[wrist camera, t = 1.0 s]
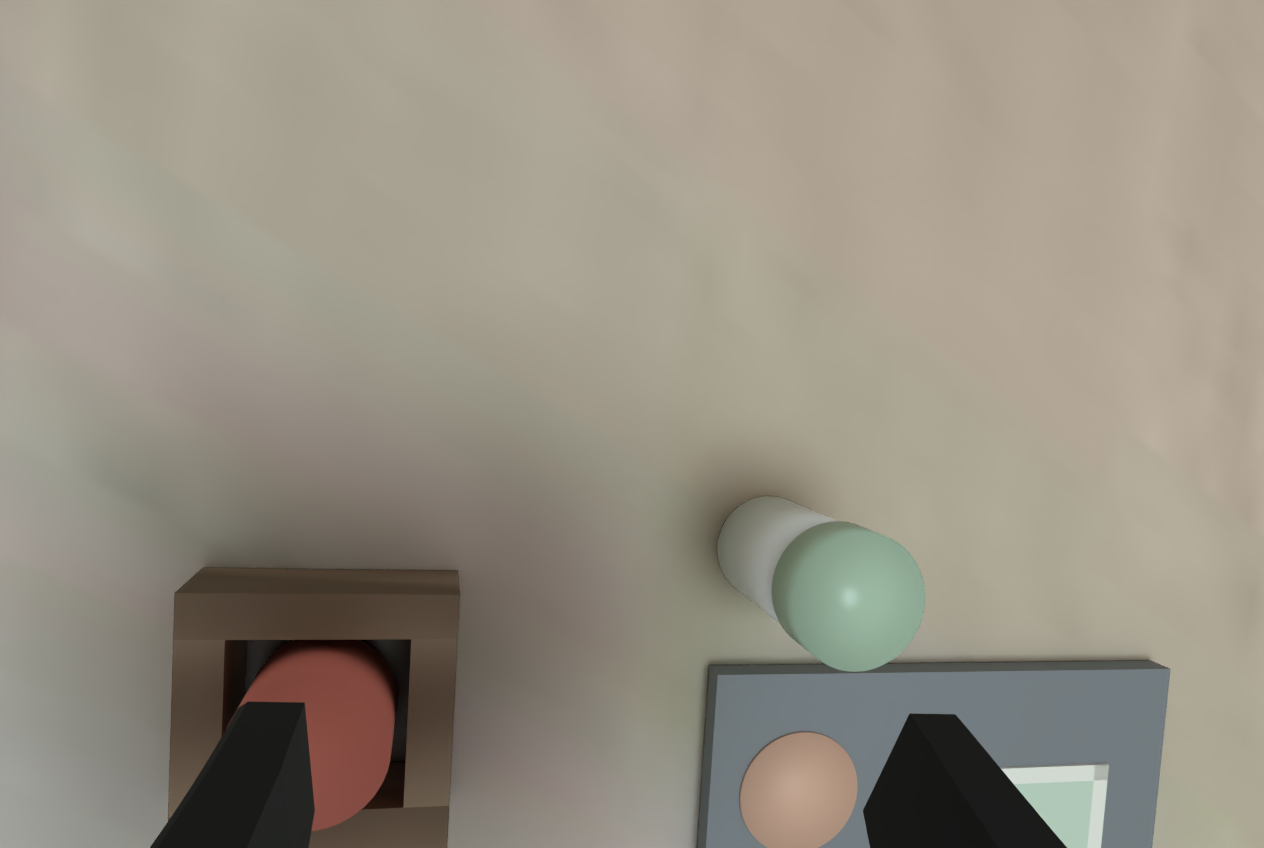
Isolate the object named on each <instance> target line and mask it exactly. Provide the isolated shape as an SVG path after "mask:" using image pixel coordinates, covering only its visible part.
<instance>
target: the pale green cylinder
mask: <svg viewBox="0 0 1264 848" xmlns="http://www.w3.org/2000/svg"><path fill="white" fill-rule="evenodd" d="M717 554H718V561H719V565H720V568H721V570H722V572H723V574H724V576H725V577H726V579H727V580H728V581H729V583H730V584H731V585H732V586H733V587H735V588H736V589H737V590H738V591H740V592H741V593H742V594H743V595H745V596H746V597H747V598H749V599H750V600H751V601H752V602H754V603H755V604H756V605H757V606H759V607H760V608H761V609H762V610H764V611H765V612H766V613H768V614H769V615H770V616H771V617H773V618H774V619H775V620H776V621H778V622H779V623H780V624H781V626H782V627H783V629H784V630H785V631H786V633H787V634H788V635H789V636H790V637H791V638H792V639H794V640H795V641H796V642H797V643H799V644H800V645H801V646H802V647H804V648H805V649H806V650H807V651H808V652H810V653H811V654H812V655H813V656H815V657H816V658H817V659H819V660H820V661H821V662H823V663H824V664H826V665H828V666H830V667H833V668H835V669H838V670H843V671H850V672H859V671H867V670H871V669H874V668H877V667H880V666H882V665H884V664H886V663H888V662H889V661H891V660H892V659H894V658H895V657H896V656H898V655H899V654H900V653H901V652H902V651H903V650H904V649H905V648H906V647H907V646H908V644H909V643H910V642H911V640H912V639H913V637H914V636H915V634H916V632H917V630H918V628H919V625H920V623H921V620H922V616H923V613H924V607H925V586H924V581H923V577H922V574H921V571H920V569H919V567H918V565H917V563H916V561H915V559H914V558H913V557H912V555H911V554H910V553H909V552H908V551H907V550H906V549H905V548H904V547H903V546H902V545H901V544H899V543H898V542H896V541H895V540H893V539H891V538H889V537H886V536H884V535H881V534H879V533H876V532H874V531H872V530H869V529H867V528H864V527H862V526H859V525H857V524H854V523H850V522H842V521H837V520H834V519H832V518H829V517H827V516H825V515H822V514H820V513H818V512H815V511H813V510H810V509H808V508H806V507H803V506H801V505H798V504H796V503H794V502H791V501H789V500H786V499H784V498H780V497H776V496H762V497H757V498H754V499H751V500H749V501H746V502H745V503H743V504H741V505H740V506H739V507H737V508H736V509H735V510H734V511H733V512H732V513H731V514H730V515H729V517H728V518H727V519H726V521H725V523H724V525H723V526H722V529H721V531H720V535H719V538H718V545H717Z"/></svg>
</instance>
